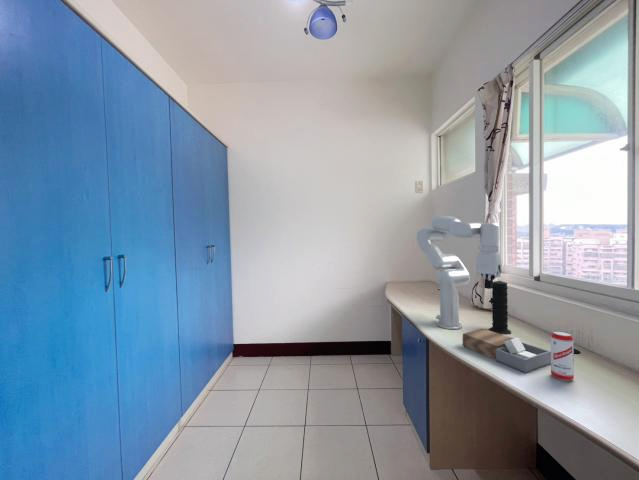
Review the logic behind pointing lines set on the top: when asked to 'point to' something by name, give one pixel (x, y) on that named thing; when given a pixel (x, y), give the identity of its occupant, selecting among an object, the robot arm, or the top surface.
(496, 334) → the wooden plinth
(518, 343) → the tile rear
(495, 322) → the handle grip
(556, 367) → the beer can
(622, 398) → the top surface
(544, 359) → the tray
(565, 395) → the top surface
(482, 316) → the top surface
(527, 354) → the tile front
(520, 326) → the top surface
